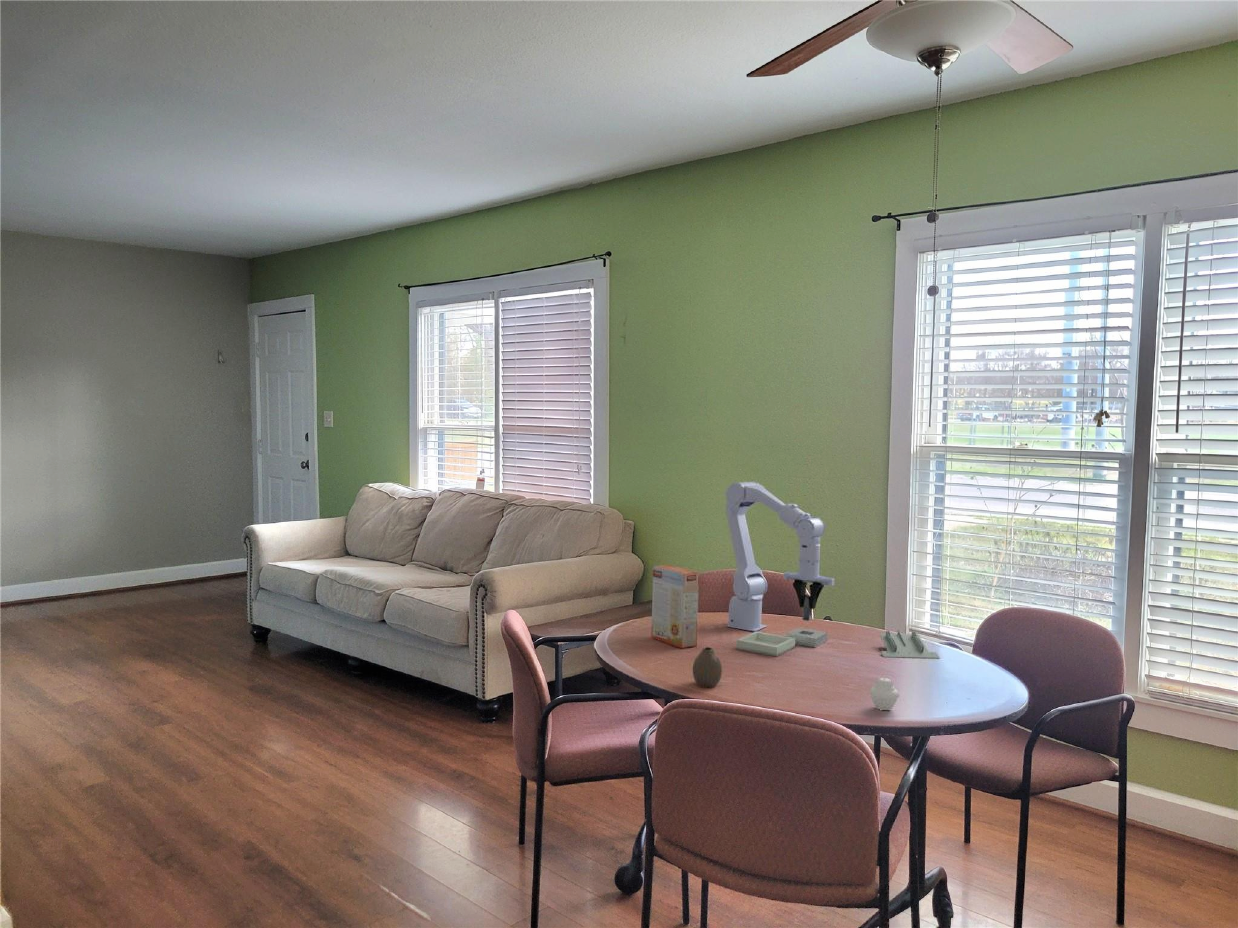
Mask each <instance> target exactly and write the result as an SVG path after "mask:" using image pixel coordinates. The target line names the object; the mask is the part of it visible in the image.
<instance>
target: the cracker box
mask: <svg viewBox="0 0 1238 928" xmlns="http://www.w3.org/2000/svg"><path fill="white" fill-rule="evenodd" d="M652 569H653V570H652V599H651V601H652V602H651V606H652V607H651V634H650V635H651V636H650V638H652V639H655V640H658V641H661V642H662V643H663V642H664V643H666V644H669V645H670V646H673V647H677V648H679V649H687V648H692V647H697V644H698V643H697V642H698V618H699V614H698V613H699V586H700V584H699V583H700V572H698V571H695V570H693V569H692V570H690V569H686V568H683V567H678V566H675V565H671V564H660V565H654V566H653V568H652Z"/></svg>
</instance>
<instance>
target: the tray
mask: <svg viewBox="0 0 1238 928" xmlns="http://www.w3.org/2000/svg"><path fill="white" fill-rule="evenodd" d="M795 648H796V644H795V638H790V637H785V635H784V636H783V635H778V634H773V633H766V632H761V631H758V630H757V631H752V633H749V634H746V635H744V636H742V637H740V638H737V639H736V649H737V650H739V651H740V650H741V651H745V650H746V651H745V652H750V653H756V654H760V653H761V655H765V656H766V655H767V656H772V657H779V656H781V655H783V654H785V653H786V652H789V651H791V650H792V649H795Z"/></svg>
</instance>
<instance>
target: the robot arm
mask: <svg viewBox="0 0 1238 928" xmlns="http://www.w3.org/2000/svg"><path fill="white" fill-rule="evenodd" d="M725 497H726V507H725V514H726V518H727V523H728V529H729V533H730V538H731V542H732V547H733V553H734V557H735V558H734V559H735V562H736V566H737V569H736V570H735V572H734V573H733V575H732V577H733V585H732V588H733V593H734V595H733V596H732V597H731V599H730V601H729V605H728V624H727V625H726V627H728V628H733V629H739V630H745V631H750V632H756V631H757V632H758V631H760V630H762V629H764V628H766V627H767V625H766V624H762V613H763V611H762V608H763V598H764V594H766V592H767V591H768V582H767V579H766V578H765V576H764V574H763V571H762V569H761V568H760V567H758V565H756V560H755V555H754V551H753V546H752V541H751V537H750V532H749V527H748V522H747V518H746V513H747V512H748V510H749V509H750V508H751V507H752V506H753V505H755V504H756V503H759V504H761V505H762V506H765V507H767V509H770V510H771V511H773V512H774V513H776V514H778V518H779V520H780V521H781V522H783V523H784V524H785V525H787V526H789V527H790V528H792V529H793V531H795V533H796V535H797V536H798V543H799V550H798V552H799V553H798V555H799V556H798V572H789V571H786V572H783V577H782V578H783V580H785V581H794V582H792V586H793V588H794V591H795V593H796V595H797V599H798V605H799V608H803V595H804V594H807V593H806V591H807V585H808V583H810V584H809V591H810V592H809V593H810V595H811V599H810V609H812V610H814V609H816V606H817V602H818V600H819V596H820V594H821V593H822V590H823V588H824V587H825V586H828V587H833V586H835V578H832V577H827V576H823V575H820V560H821V557H820V556H821V537H823V535H824V534H825V530H826V525H825V523H824V521H823V520H822V519H821V518H820V517H818V516H813V517H812V516H811V514H810V513H809V512H806V511H803V510H801V509H800V508H798V507H799V505H797V504H796V503H787V504H785V502H783V501H781V500H780V499H779V498H778V497H776V496H775V495H774V494H773V493H771V492H770V491H769V490H767V489H766V488H765V486H764V485H762V484H760V483H759V482H757V481H754V480H753V481H752V480H751V481H743V482H742V481H741V482H738V481H737V482H736V481H735V482H732V483H731V484H729V486H728V487H727V488H726V490H725Z"/></svg>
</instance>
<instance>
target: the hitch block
mask: <svg viewBox="0 0 1238 928" xmlns="http://www.w3.org/2000/svg"><path fill="white" fill-rule="evenodd" d="M784 637H790V638H795V645H798V646H799V645H800V646H803V647H804V646H805V647H811V648H817V647H820V645H822V644H825V643H826V642H827V641H828V632H827V631H822V630H816V629H810V628H803V627H796V628H793V629H792V630H789V631H787V632H786V633H785V634H784Z"/></svg>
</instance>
